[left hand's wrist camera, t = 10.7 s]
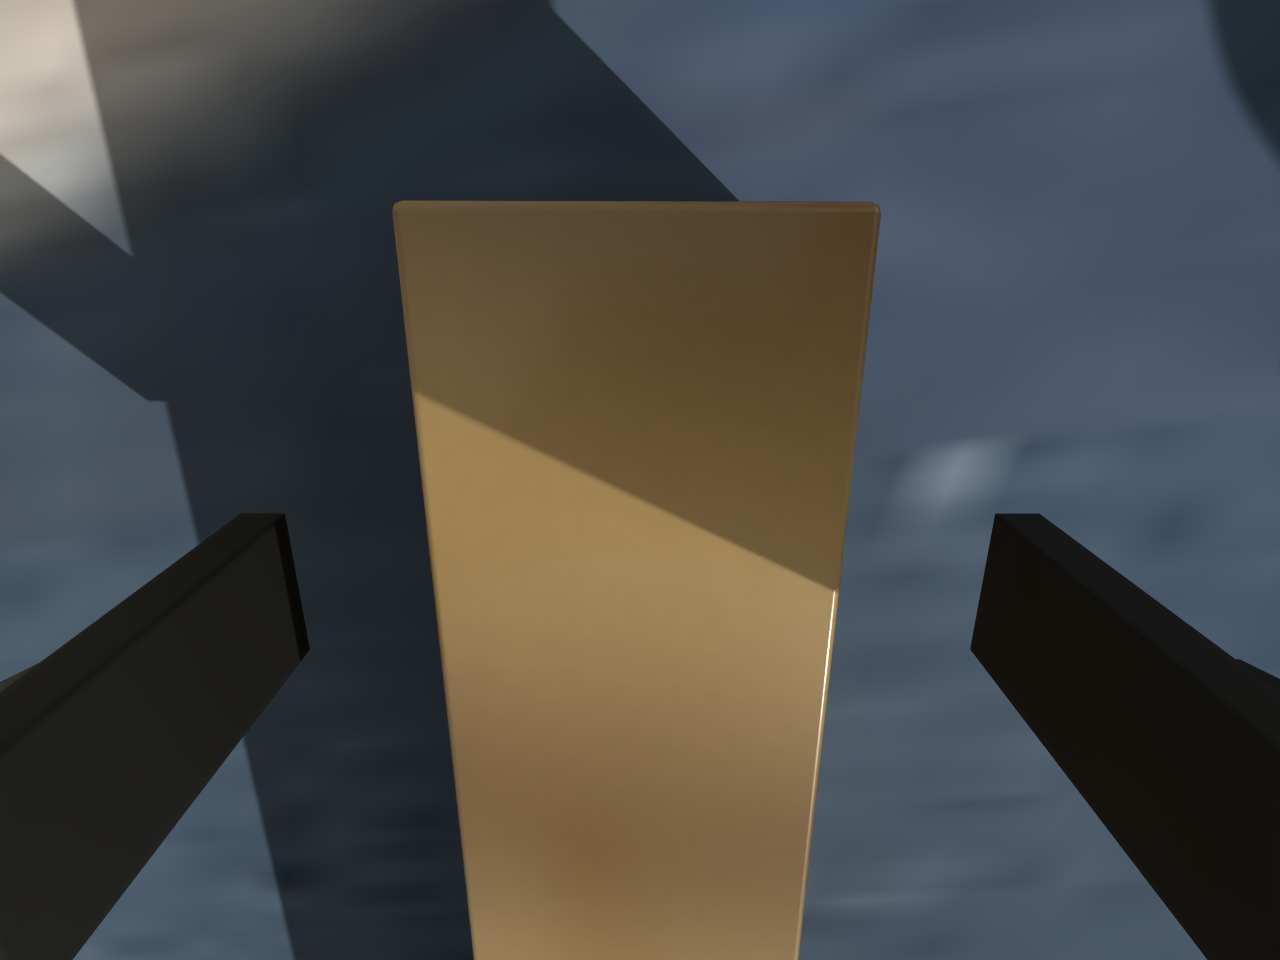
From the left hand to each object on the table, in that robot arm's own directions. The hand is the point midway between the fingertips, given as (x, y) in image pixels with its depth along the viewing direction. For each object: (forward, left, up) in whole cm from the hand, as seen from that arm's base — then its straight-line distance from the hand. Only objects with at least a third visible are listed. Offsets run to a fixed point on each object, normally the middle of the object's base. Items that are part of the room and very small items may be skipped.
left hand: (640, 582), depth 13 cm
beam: (+3, +27, -4) cm, 28 cm away
